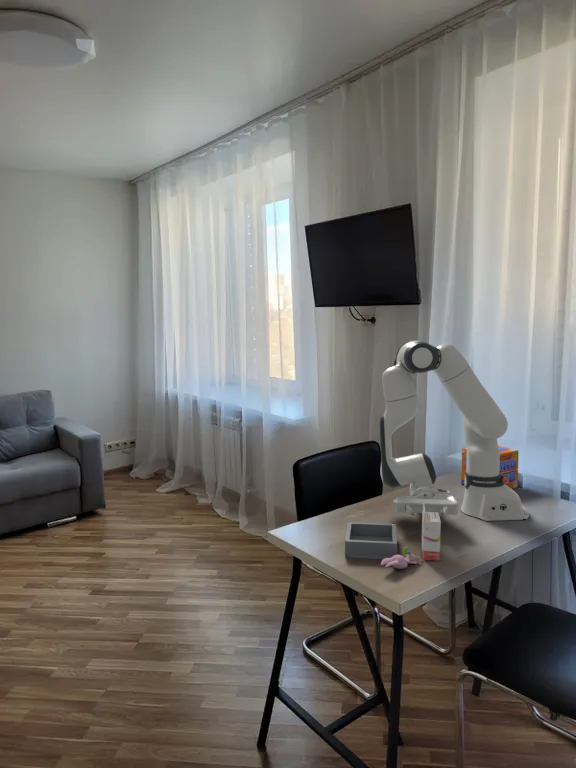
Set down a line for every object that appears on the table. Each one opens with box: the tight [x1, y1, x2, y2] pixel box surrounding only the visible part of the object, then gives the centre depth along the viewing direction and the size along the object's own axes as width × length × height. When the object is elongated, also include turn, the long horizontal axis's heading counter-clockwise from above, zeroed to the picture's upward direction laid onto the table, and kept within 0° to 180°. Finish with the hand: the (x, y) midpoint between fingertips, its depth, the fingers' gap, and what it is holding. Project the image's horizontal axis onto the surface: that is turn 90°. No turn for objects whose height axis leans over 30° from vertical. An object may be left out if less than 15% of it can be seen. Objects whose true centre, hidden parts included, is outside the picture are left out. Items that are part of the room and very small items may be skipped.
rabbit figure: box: [380, 546, 424, 570], centre depth 154 cm, size 6×6×15 cm
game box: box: [460, 445, 520, 489], centre depth 223 cm, size 16×16×16 cm
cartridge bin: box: [344, 521, 398, 560], centre depth 167 cm, size 15×15×5 cm
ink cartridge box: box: [421, 503, 442, 562], centre depth 161 cm, size 9×5×15 cm, turn 170°
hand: (427, 513), depth 173 cm, fingers open, 8 cm apart
